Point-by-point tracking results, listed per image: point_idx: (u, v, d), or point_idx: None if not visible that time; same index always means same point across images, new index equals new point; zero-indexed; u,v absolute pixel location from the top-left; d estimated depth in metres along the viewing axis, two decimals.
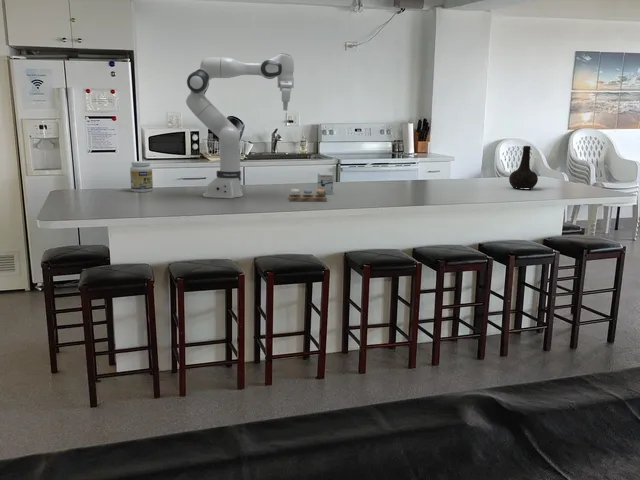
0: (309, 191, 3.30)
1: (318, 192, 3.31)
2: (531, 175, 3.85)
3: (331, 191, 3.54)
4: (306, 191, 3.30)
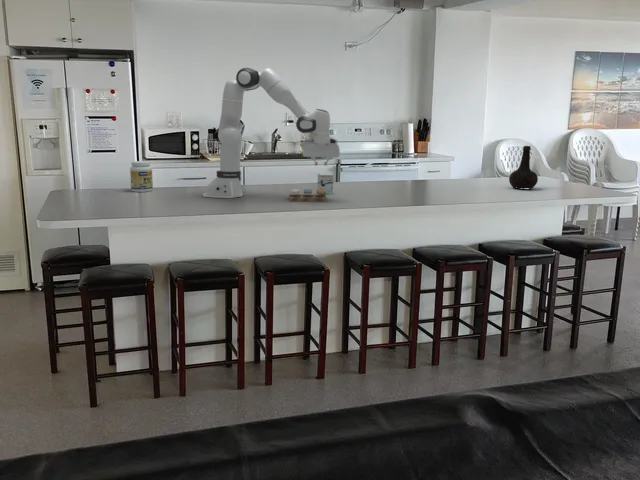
0: (309, 191, 3.30)
1: (318, 192, 3.31)
2: (531, 175, 3.85)
3: (331, 191, 3.54)
4: (306, 191, 3.30)
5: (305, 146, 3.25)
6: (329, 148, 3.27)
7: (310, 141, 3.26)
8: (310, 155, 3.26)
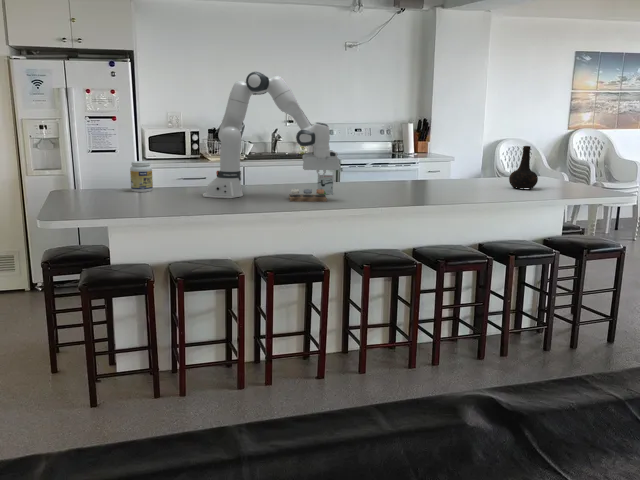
0: (309, 191, 3.30)
1: (318, 192, 3.31)
2: (531, 175, 3.85)
3: (331, 191, 3.54)
4: (306, 191, 3.30)
5: (305, 159, 3.27)
6: (329, 161, 3.28)
7: (310, 154, 3.28)
8: (311, 168, 3.28)
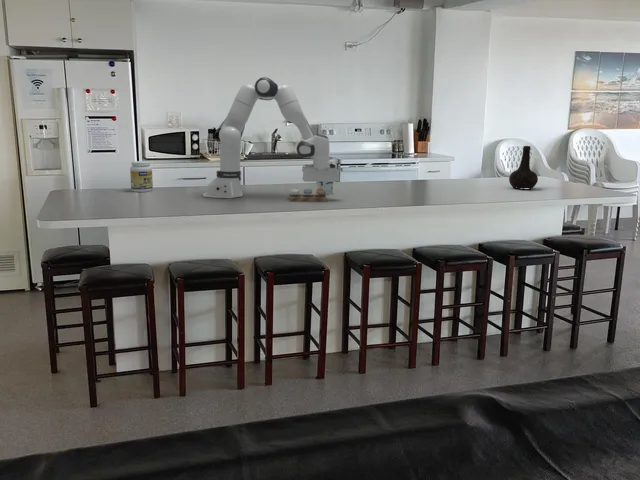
0: (309, 191, 3.30)
1: (318, 192, 3.31)
2: (531, 175, 3.85)
3: (331, 191, 3.54)
4: (306, 191, 3.30)
5: (305, 171, 3.28)
6: (329, 173, 3.30)
7: (310, 166, 3.29)
8: (310, 180, 3.29)
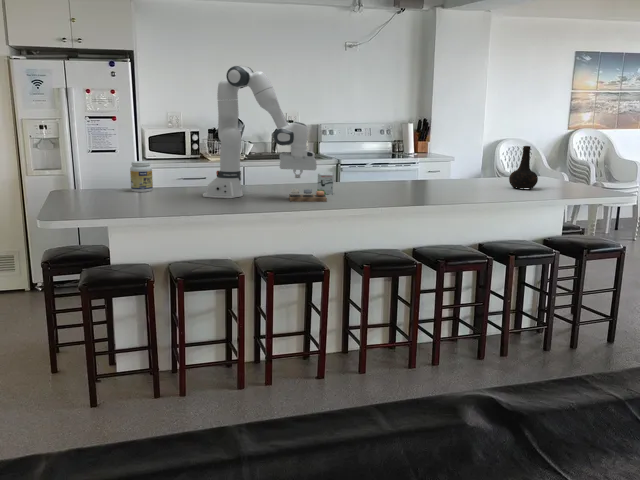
0: (309, 191, 3.30)
1: (318, 194, 3.31)
2: (531, 175, 3.85)
3: (331, 191, 3.54)
4: (306, 191, 3.30)
5: (282, 158, 3.25)
6: (306, 161, 3.27)
7: (287, 153, 3.26)
8: (287, 167, 3.27)
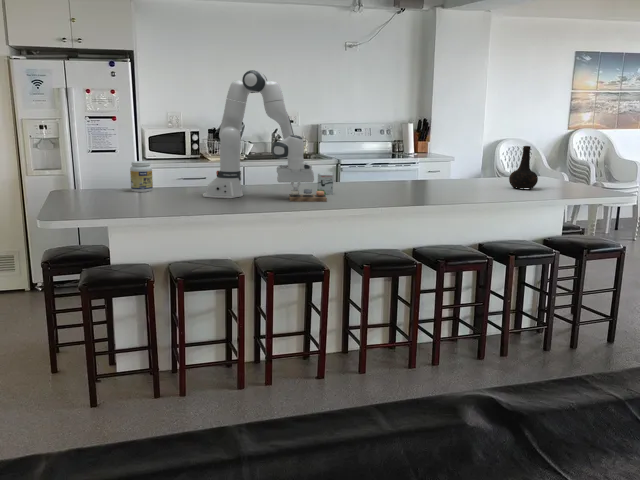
0: (309, 191, 3.30)
1: (318, 194, 3.31)
2: (531, 175, 3.85)
3: (331, 191, 3.54)
4: (306, 191, 3.30)
5: (279, 172, 3.27)
6: (303, 173, 3.29)
7: (284, 167, 3.28)
8: (285, 180, 3.28)
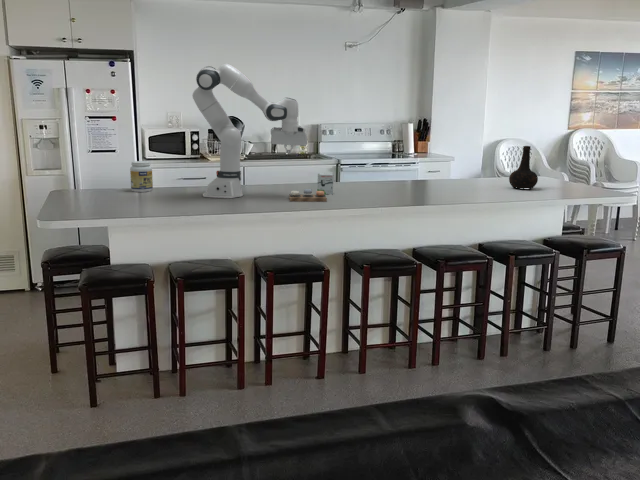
0: (309, 191, 3.30)
1: (318, 194, 3.31)
2: (531, 175, 3.85)
3: (331, 191, 3.54)
4: (306, 191, 3.30)
5: (273, 133, 3.31)
6: (297, 136, 3.33)
7: (278, 129, 3.32)
8: (278, 142, 3.32)
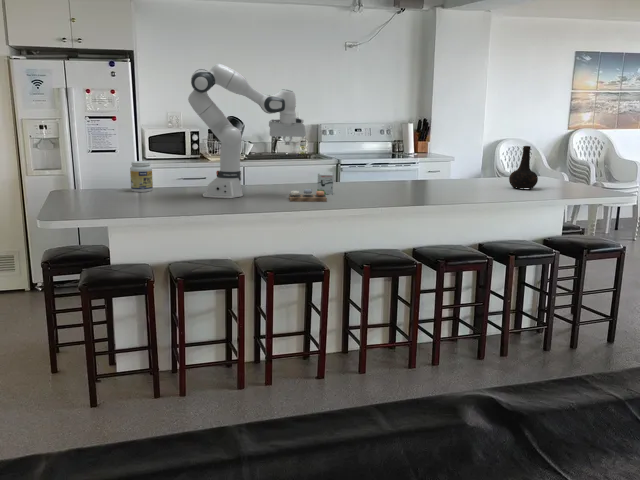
0: (309, 191, 3.30)
1: (318, 194, 3.31)
2: (531, 175, 3.85)
3: (331, 191, 3.54)
4: (306, 191, 3.30)
5: (271, 126, 3.32)
6: (295, 128, 3.34)
7: (276, 121, 3.33)
8: (277, 134, 3.34)
